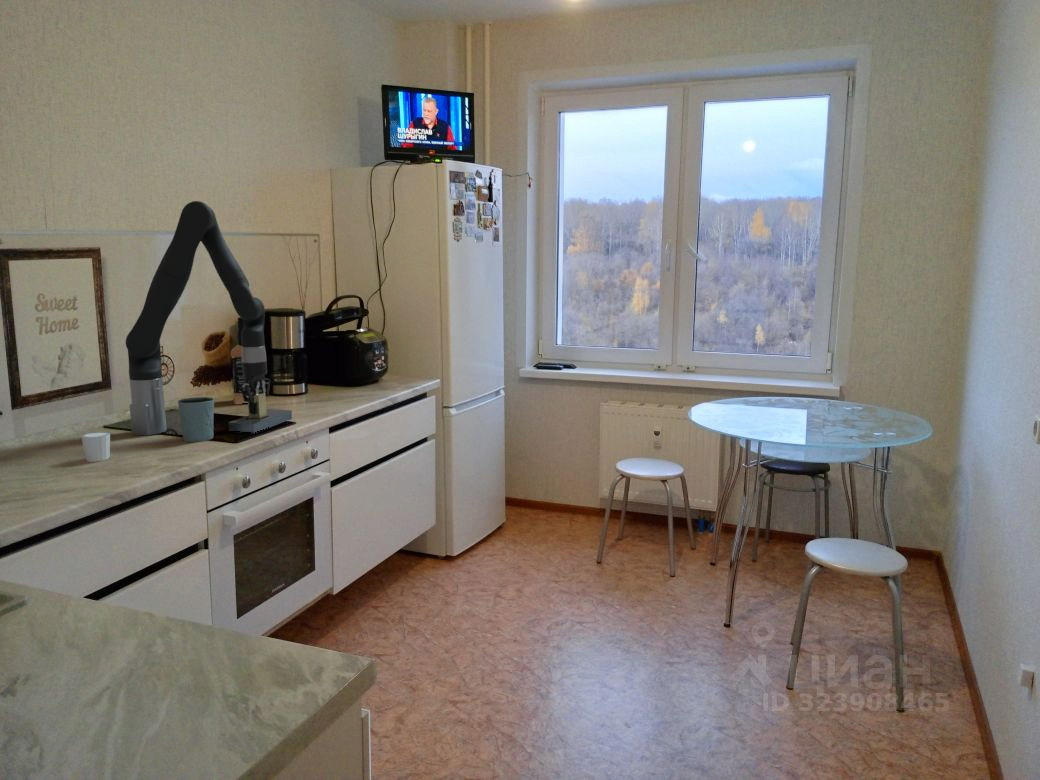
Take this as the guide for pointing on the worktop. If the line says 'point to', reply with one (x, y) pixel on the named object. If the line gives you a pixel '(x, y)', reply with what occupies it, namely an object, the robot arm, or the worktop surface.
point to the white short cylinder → (96, 446)
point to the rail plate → (260, 421)
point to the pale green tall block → (259, 407)
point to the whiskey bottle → (238, 368)
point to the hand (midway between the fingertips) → (257, 412)
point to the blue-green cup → (197, 418)
